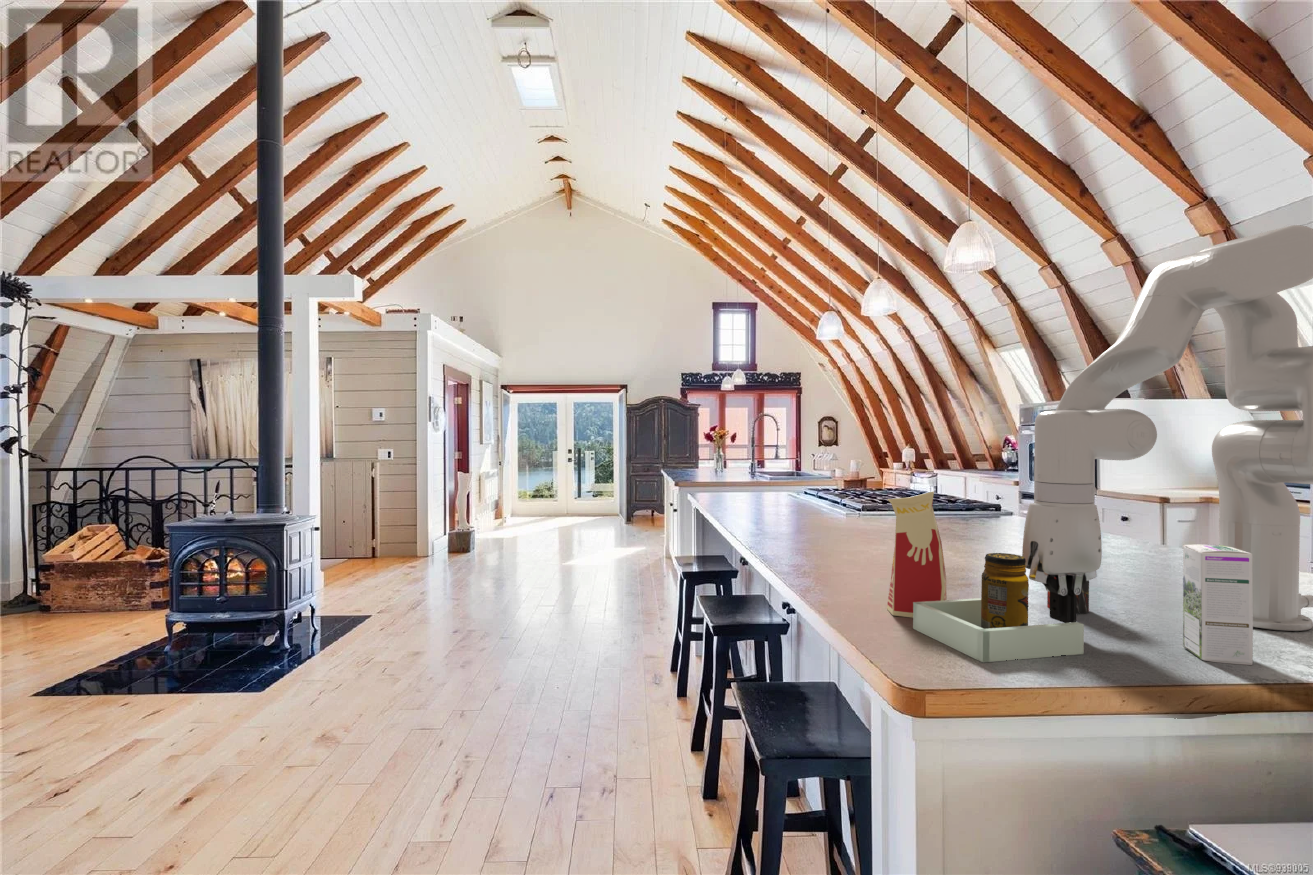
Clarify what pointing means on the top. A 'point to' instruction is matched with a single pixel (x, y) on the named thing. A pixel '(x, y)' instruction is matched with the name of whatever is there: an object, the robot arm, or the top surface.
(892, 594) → the milk carton
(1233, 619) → the syrup box
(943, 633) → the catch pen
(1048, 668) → the top surface
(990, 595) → the condiment
